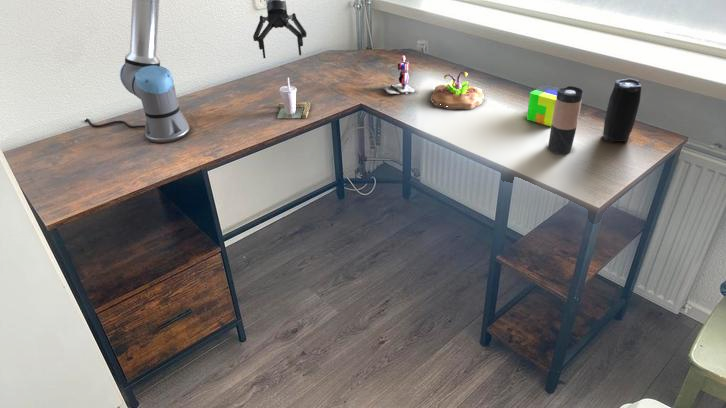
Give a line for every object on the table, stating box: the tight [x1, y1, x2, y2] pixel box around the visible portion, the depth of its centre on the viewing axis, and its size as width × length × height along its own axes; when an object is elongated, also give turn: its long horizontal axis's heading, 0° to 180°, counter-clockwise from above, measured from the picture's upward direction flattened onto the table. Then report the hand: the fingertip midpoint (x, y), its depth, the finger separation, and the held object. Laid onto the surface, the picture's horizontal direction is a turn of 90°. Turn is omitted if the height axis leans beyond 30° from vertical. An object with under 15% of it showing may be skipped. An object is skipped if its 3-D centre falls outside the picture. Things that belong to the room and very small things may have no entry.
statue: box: [381, 55, 416, 95], centre depth 220 cm, size 11×9×15 cm
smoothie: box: [278, 76, 297, 115], centre depth 205 cm, size 6×6×14 cm
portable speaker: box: [602, 77, 643, 144], centre depth 178 cm, size 9×9×20 cm
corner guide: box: [276, 101, 311, 120], centre depth 209 cm, size 12×12×2 cm
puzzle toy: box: [526, 84, 560, 127], centre depth 195 cm, size 10×10×10 cm
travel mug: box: [548, 85, 584, 155], centre depth 174 cm, size 8×8×20 cm
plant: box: [430, 71, 485, 110], centre depth 212 cm, size 20×20×11 cm
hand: (282, 55), depth 209 cm, fingers open, 13 cm apart
